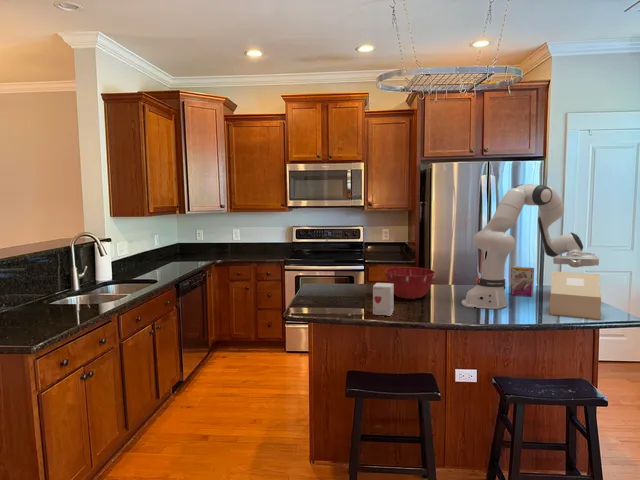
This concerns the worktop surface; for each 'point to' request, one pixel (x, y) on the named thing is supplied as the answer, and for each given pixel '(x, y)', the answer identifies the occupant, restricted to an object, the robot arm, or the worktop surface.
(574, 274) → the carton flap
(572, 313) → the carton
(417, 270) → the mixing bowl
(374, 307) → the supplement box
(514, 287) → the candy bar box
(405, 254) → the worktop surface
